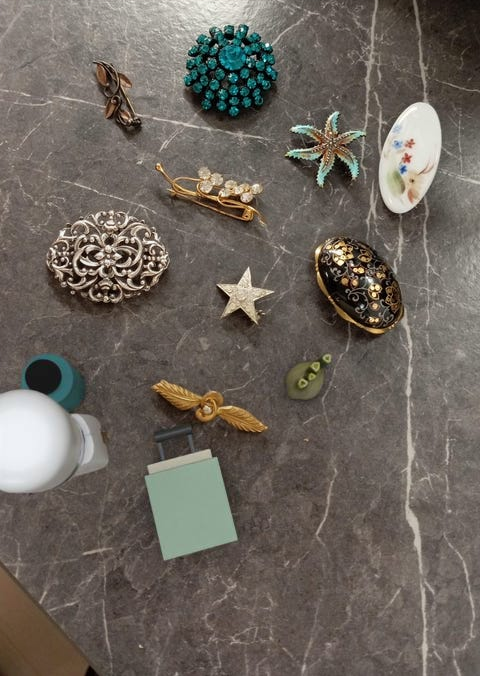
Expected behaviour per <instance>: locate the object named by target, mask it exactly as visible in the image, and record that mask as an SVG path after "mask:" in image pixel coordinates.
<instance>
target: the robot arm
mask: <svg viewBox="0 0 480 676" xmlns="http://www.w3.org/2000/svg"><path fill="white" fill-rule="evenodd" d="M101 429H102V425H101V423H100V420H99V419H98V418H96V417H95V416H93V415H91V414H86V413H71V412H70V411H69V412H67V411H66V410H65V409H64V408H63V407H61V406H60V405H59V404H58V403H57V402H56V401H54V400H53V399H52V398H50V397H48V396H47V395H45V394H43V393H40V392H37V391H33V390H27V389H22V388H19V389H12V390H8V391H5V392H1V393H0V492H3V493H4V492H5V493H8V494H39V493H48V492H51V491H52V492H53V491H54V490H57V489H59V488H61V487H63V486H64V485H66V484H67V483H68V482H70V480H71V479H73V478H75V477H79V476H82V475H86V474H89V473H93V472H95V471H98V470H101V469H103V468H105V467H106V466H107V465H108V464H109V461H110V460H109V454H108V449H107V446H108V445H109V444H110V440H109V437H108V432H107V431H101Z"/></svg>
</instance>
